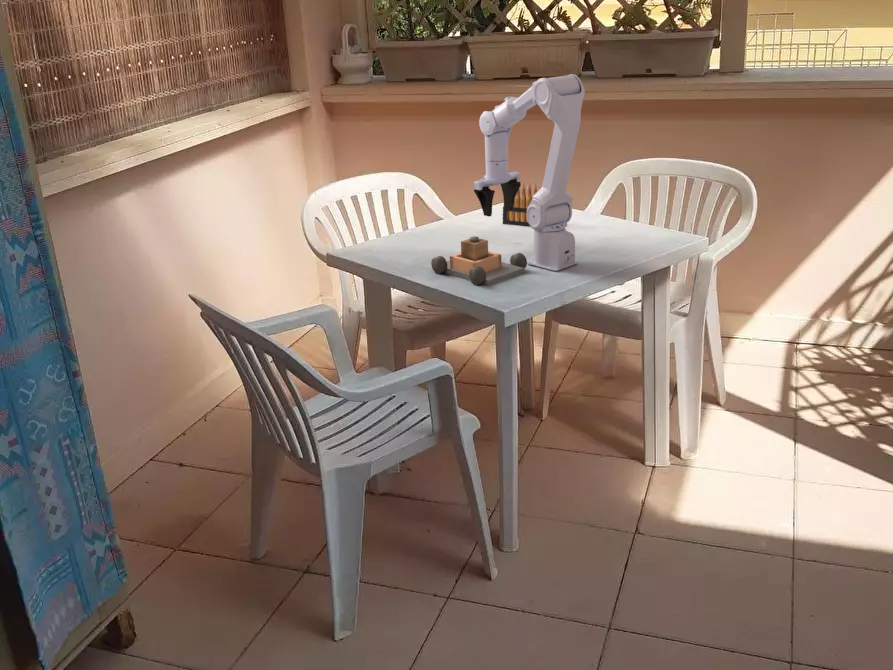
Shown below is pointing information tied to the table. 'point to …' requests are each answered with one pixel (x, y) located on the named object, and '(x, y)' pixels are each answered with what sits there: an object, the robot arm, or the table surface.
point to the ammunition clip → (519, 208)
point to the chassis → (481, 267)
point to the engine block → (474, 249)
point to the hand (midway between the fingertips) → (498, 212)
